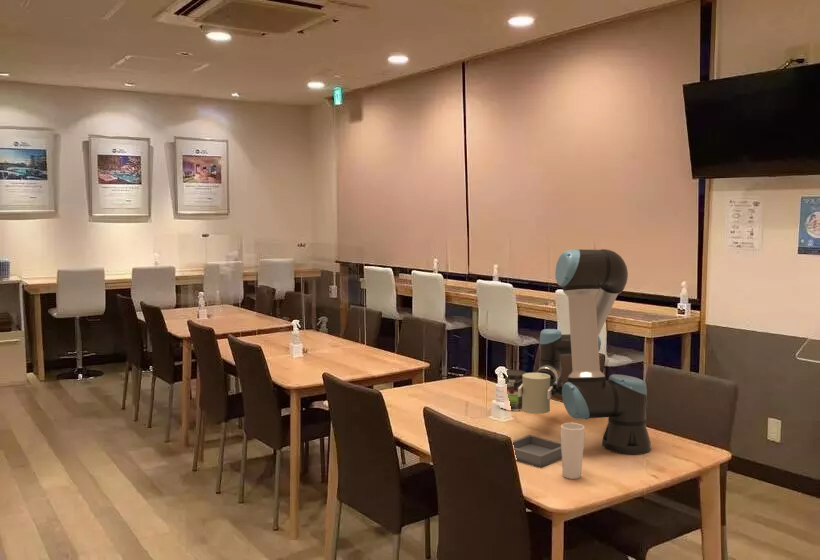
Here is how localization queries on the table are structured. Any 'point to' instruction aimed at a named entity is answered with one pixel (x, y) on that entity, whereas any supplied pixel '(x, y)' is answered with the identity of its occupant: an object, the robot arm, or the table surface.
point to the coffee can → (512, 394)
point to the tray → (537, 450)
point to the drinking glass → (572, 449)
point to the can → (535, 393)
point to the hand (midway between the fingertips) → (533, 393)
